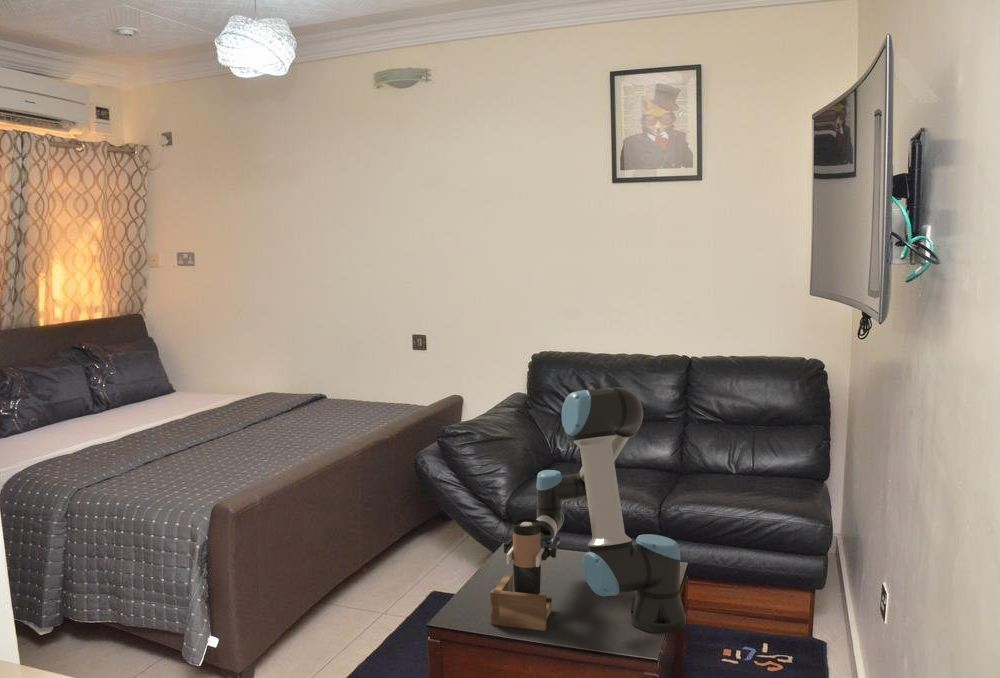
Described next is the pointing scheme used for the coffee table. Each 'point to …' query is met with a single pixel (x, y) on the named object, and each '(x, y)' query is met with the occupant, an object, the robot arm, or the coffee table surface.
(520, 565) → the travel mug
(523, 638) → the coffee table surface
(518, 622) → the wooden holder
